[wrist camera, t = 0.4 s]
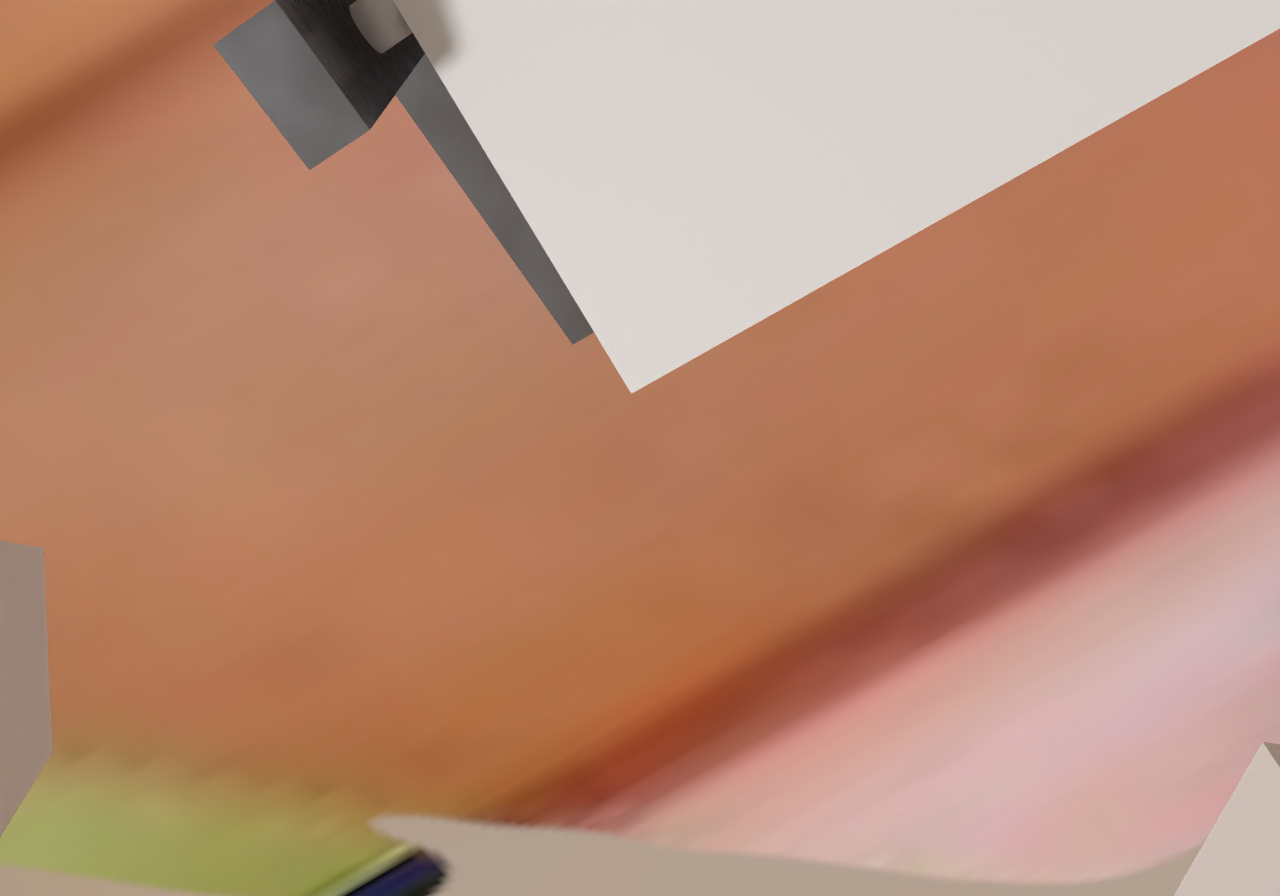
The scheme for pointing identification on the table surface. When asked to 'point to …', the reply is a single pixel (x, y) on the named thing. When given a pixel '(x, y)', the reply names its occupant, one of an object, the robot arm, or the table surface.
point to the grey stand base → (355, 98)
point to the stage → (778, 130)
